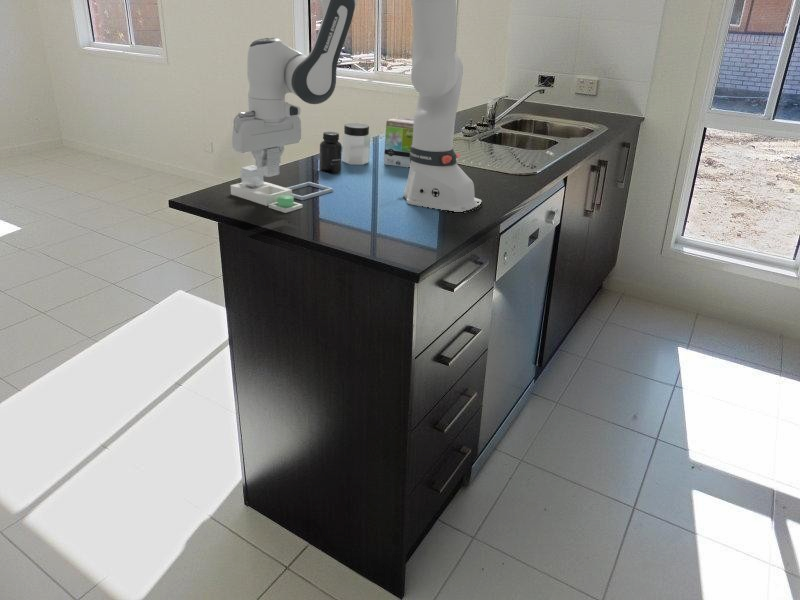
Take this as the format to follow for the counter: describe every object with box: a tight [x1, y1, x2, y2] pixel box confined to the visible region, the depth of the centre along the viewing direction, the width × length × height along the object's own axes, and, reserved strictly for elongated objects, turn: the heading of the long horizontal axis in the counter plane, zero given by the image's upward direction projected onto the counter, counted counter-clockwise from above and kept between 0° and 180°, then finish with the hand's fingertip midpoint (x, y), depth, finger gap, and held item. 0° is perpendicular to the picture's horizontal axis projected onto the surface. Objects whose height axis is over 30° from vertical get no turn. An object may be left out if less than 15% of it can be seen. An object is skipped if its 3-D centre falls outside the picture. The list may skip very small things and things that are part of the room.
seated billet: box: [240, 164, 265, 189], centre depth 166 cm, size 4×4×7 cm
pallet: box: [229, 180, 293, 207], centre depth 165 cm, size 14×9×4 cm, turn 54°
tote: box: [286, 181, 334, 201], centre depth 172 cm, size 9×12×2 cm
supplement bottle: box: [318, 131, 343, 175], centre depth 194 cm, size 7×7×12 cm
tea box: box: [383, 115, 414, 168], centre depth 208 cm, size 15×10×15 cm, turn 76°
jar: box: [341, 122, 371, 166], centre depth 208 cm, size 9×8×12 cm
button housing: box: [268, 201, 304, 214], centre depth 159 cm, size 6×6×2 cm
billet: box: [257, 147, 280, 178], centre depth 160 cm, size 4×4×7 cm
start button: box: [277, 196, 295, 208], centre depth 158 cm, size 4×4×3 cm
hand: (268, 165), depth 160 cm, fingers closed on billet, 4 cm apart
